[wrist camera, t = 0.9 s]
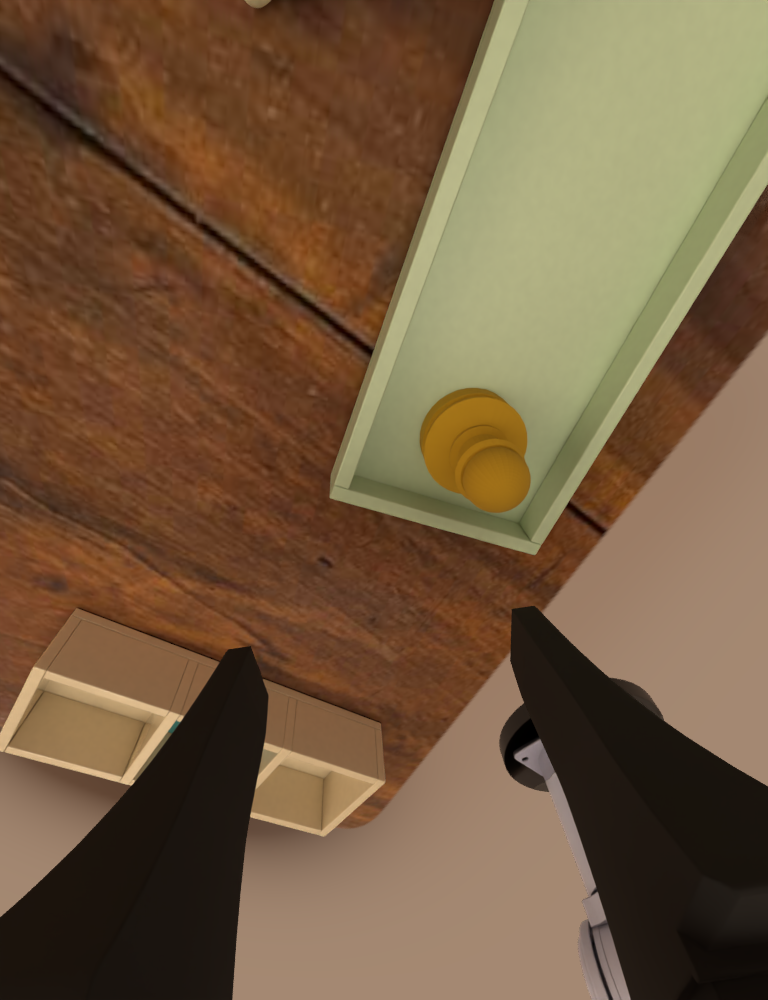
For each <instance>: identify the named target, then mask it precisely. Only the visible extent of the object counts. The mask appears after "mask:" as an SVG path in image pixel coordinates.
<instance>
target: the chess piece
mask: <svg viewBox="0 0 768 1000" xmlns="http://www.w3.org/2000/svg"><path fill="white" fill-rule="evenodd" d="M420 447H421V452H422V454H423V457H424V460H425V464H426V467H427V469H428V472H429V473H430V475H431V476H432V478H433V479H434V480H435V481H436V482H437V483H438V484H439V485H440V486H442V487H444V488H445V489H447V490H449V491H452V492H455V493H458V494H462V495H463V496H464V497H465V498H466V499H468V500H470V501H471V502H472V503H473V504H474V505H475V506H476V507H478V508H480V509H481V510H484V511H487V512H491V513H502V512H506V511H509V510H512V509H513V508H515V507H517V506H518V505H519V504H520V503H521V502H522V501H523V500H524V499H525V497H526V495H527V494H528V491H529V488H530V483H531V476H530V471H529V468H528V466H527V464H526V462H525V458H524V456H525V453H526V449H527V431H526V427H525V424H524V422H523V420H522V418H521V416H520V415H519V414H518V412H517V411H516V410H515V409H514V408H513V407H511V406H510V405H509V404H508V403H507V402H506V401H505V400H504V399H503V398H501V397H500V396H499V395H497V394H496V393H494V392H491V391H489V390H486V389H481V388H465V389H461V390H457V391H454V392H452V393H450V394H448V395H446V396H445V397H443V398H442V399H440V400H439V401H438V402H437V403H436V404H435V405H434V406H432V408H431V409H430V410H429V412H428V413H427V415H426V417H425V419H424V421H423V423H422V426H421V430H420Z"/></svg>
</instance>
